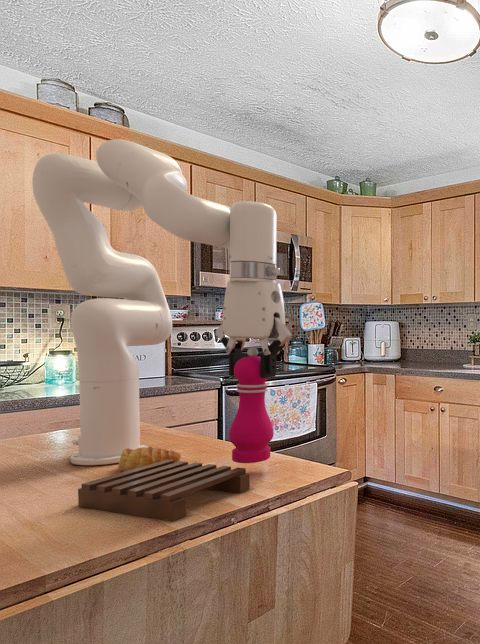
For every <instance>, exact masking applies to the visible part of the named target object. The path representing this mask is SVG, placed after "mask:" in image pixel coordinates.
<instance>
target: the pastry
mask: <svg viewBox="0 0 480 644" xmlns="http://www.w3.org/2000/svg"><path fill="white" fill-rule="evenodd" d="M181 457H182V456H181V453H179V452H177V451H175V450H168V449H164V448H158V447H154V448H153V447H151V446H148V447H147V448H137V449H135V450H132V449H124V450H123V451H122V454H121V457H120V461H119V463H118V466H117V470H119V471H121V472H125V471H129V470H132V469H136V468H139V467H143V466H146V465H150V464H153V463H157V462H160V461H164V460H174V463H176V462H179V461H181Z"/></svg>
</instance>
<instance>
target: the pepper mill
mask: <svg viewBox="0 0 480 644" xmlns="http://www.w3.org/2000/svg"><path fill="white" fill-rule="evenodd" d="M246 354H247V356H245V357H243V358H241V359H240V360H238V361H237V362H236V364H235V366H234V376H233V377H234V378H235V379H236V380H237V381H238V383H236V392H237V393H238V395H239V397H238V399H239V401H238V408H237V412H236V414H235V416H234V419H233V421H232V423H231V425H230V428H229V434H228V439H229V441H230V443H231V444H232V445H233V446H234V447H235V448H233V449H232V451H231V461H233V462H234V463H238V464H256V463H260V462H264V461H267V460H269V459H270V458H271V447H270V446H269V443H270V442H271V441H272V440H273V438H274V434H275V433H274V426H273V422H272V420H271V418H270V415H269V413H268V410H267V407H266V400H265V399H266V398H265V397H266V392H268V390H269V389H268V383H267V380H268V379H269V378H261V376H260V357H261V356H258V355H259V349H258V348H256V347H255V346H251V347H249V348H248V349H247V350H246Z"/></svg>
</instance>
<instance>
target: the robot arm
mask: <svg viewBox="0 0 480 644" xmlns="http://www.w3.org/2000/svg"><path fill="white" fill-rule="evenodd" d="M95 158H96V160H92V159H90V158H89V159H88V158H85V157H82V156H78V155H75V154H69V153H61V152H60V153H59V152H56V153H54V152H53V153H48V154H45V155H44V156H42V157H40V158H39V160H38V161H37V162H36V164H35V166H34V169H33V173H32V179H31V181H32V182H31V183H32V185H31V186H32V192H33V196H34V200H35V202H36V205H37V207H38V209H39V212H40V213H41V214H42V217H43V219H44V220H45V221H46V223H47V225H48V227H49V229H50V231H51V233H52V236H53V240H54V243H55V246H56V249H57V253H58V256H59V259H60V263H61V265H62V269H63V271H64V272H63V273H64V275H65V278H66V280H67V283H68V285H69V286H70V288H71V289H72V290H73V291H75V292H76V293H78V294H80V295H85V296H91V297H97V298H90V299H86V300H85V301H82V302H80V303H78V304H77V305H76V306H75V307H74V309H73V311H72V312H71V315H70V328H71V331H72V332H71V333H72V335H73V339H74V342H75V343H74V344H75V347H76V348H75V349H76V353H77V354H76V355H77V362H78V363H77V364H78V381H79V383H78V384H79V385H78V387H79V428H80V431H79V432H80V434H79V435H78V438H77V437H75V438H73V439H72V441H71V444H72V445H73V446H78V452H75V453H73V454H72V455H71V456H70V463H71V464H72V465H76V466H102V465H103V466H104V465H111V464H112V465H113V464H119V461H120V457H121V454H122V451H123V450H124V449H132V450H135V449H137V448H147V447H149V446H148V445H145V444H141V416H140V415H141V411H140V372H139V365H138V362H137V360H136V358H135V357H134V355H133V354H132V352H131V350H130V349H129V347H140V346H141V347H142V346H155V345H160V344H162V343H164V342H166V341H167V340H168V339H169V338H170V336H171V334H172V332H173V317H172V313H171V309H170V307H169V304H168V301H167V297H166V294H165V291H164V288H163V286H162V282H161V279H160V276H159V274H158V272H157V269H156V268H155V266H154V265H153V263H151V262H150V261H149V260H148V259H147V258H145V257H143V256H141V255H137V254H134V253H129V252H128V253H127V252H122V251H117V250H116V249H115V248H114V247H112V245H111V242H110V241H109V238H108V237H109V236H108V234H107V230H106V228H105V226H104V225H103V223H102V222H101V221H100V220H99V218H98V217H97V216H96V215H95V214H94V213H93V212H92V211H91V210H90V209H89V208H88V207H87V206H86V205H85V203H86V204H91V205H95V206H99V207H104V208H108V209H112V210H116V211H123V212H126V211H127V212H129V211H135V210H138V209H142V208H143V210H144V212H145V214H146V216H147V217H148V219H150V220H151V221H153V222H154V223H155V224H156V225H158V226H159V227H161V228H162V229H164V230H165V231H166V232H168V233H169V234H171V235H174V236H176V237H177V238H180V239H182V240H184V241H188V242H193V243H199V244H204V245H209V246H213V247H217V248H223V249H229V281H227V283H226V288H225V292H224V299H223V310H222V323H221V324H220V325H219V326H218V327H217V329H216V330H215V335H216V336H217V338H218V339H219V340H220V342H221V343H222V345H223V346H224V348H225V352H226V353H227V354H228V375H229V376H230V377H235V376H234V366H235V364H236V362H237V361H238V360H240V359H241V358H243V357H246V352H243V350H244V347H245V345H246V341H247V339H251V340H252V339H254V340H255V339H256V340H257V339H258V340H259V343H260V346H261V350H262V352H263V354H261V355H260V356H259V357H260V376H261V378H268V379H269V378H275V377H276V376H277V356H278V355H279V354H280V353H281V350H282V348H283V347H284V346H285V345H286V343H287V342H288V341H289V340H290V339H291V338H292V337H293V335H292V333H291V331H290V330H289V328H288V327H287V326H286V312H285V300H284V294H283V289H282V286H281V283H280V282H277V276H280V275H281V269H280V268H279V267H277V257H278V256H277V249H278V247H277V246H278V245H277V243H278V242H277V241H278V238H277V237H278V236H277V235H278V214H277V211H276V210H275V208H274V207H273V206H271V205H270V204H267V203H264V202H259V201H253V200H240V201H236V202H234V203H232V205H231V206H228V205H225V204H222V203H219V202H215V201H212V200H208V199H206V198H201V197H198V196H195V195H193V194H191V193H189V192H188V189H189V188H188V182H187V179H186V178H185V176H184V174H183V171H182V169H181V166H180V165H179V163H178V162H177V161H176V160H175V159H174V158H173V157H172V156H170V155H168V154H166V153H163V152H161V151H158V150H156V149H153V148H150V147H148V146H145V145H142V144H139V143H137V142H134V141H131V140H128V139H122V138H121V139H120V138H114V139H109V140H106V141H104V142H102V143H101V144H100V145H99V147H97V150H96V154H95ZM98 297H100V298H98Z"/></svg>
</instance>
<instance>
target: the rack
mask: <svg viewBox="0 0 480 644" xmlns="http://www.w3.org/2000/svg"><path fill="white" fill-rule="evenodd" d="M250 478H251V477H250V473H249V472H247V468H245V467H235V468H232V466H229V465H221V466H218V467H217V464H212V463H208V464H205V465H203V463H201V462H192V463H189V461H185V460H180V461H179V462H176V463H174V460H164V461H160V462H157V463H153V464H150V465H146V466H143V467H139V468H136V469H132V470H129V471H121V472H118V473H115V474H111V475H108V476H104V477H101V478H97V479H94V480H90V481H87V482H83V483H81V484H80V485H81V486H80V488H77V502H78V503H77V505H78V507H81V508H88V509H93V510H100V511H105V512H106V511H107V512H112V513H119V514H125V515H132V516H138V517H145V518H151V519H157V520H163V521H170V522H175V521H177V520H180V519H182V518H185V517H186V516H187V498H186V496H188V495H191V494H194V493H196V492H199V491H202V490H204V489H206V490H213V491H215V490H216V491H223V492H229V493H238V494H241V493H244V492H246V491H249V490H250V484H251V483H250V481H251V480H250Z"/></svg>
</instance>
